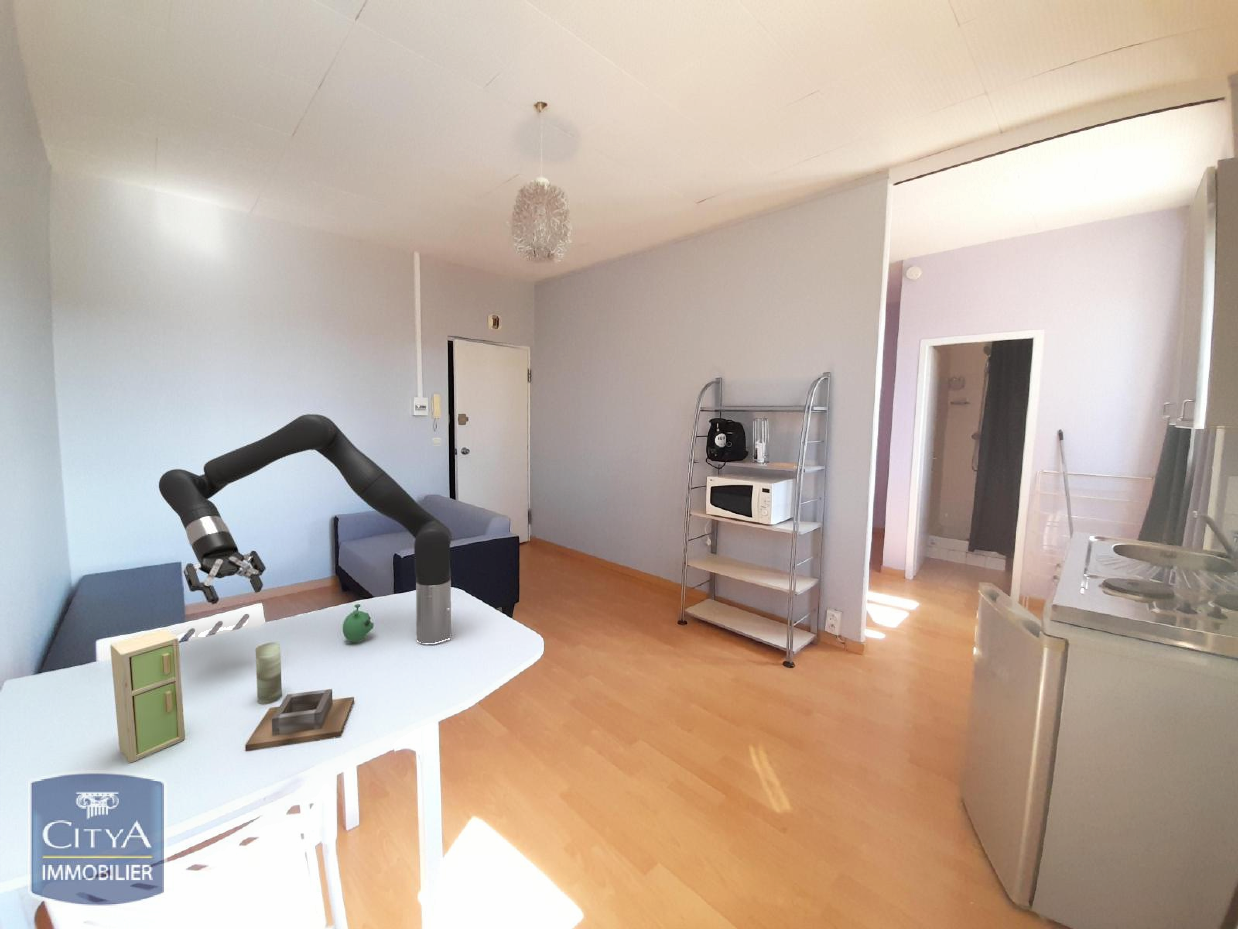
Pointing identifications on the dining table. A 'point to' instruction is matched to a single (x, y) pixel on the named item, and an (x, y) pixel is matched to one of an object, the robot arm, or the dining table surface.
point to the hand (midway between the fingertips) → (238, 596)
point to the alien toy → (357, 625)
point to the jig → (302, 720)
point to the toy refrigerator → (147, 693)
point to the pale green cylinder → (268, 673)
